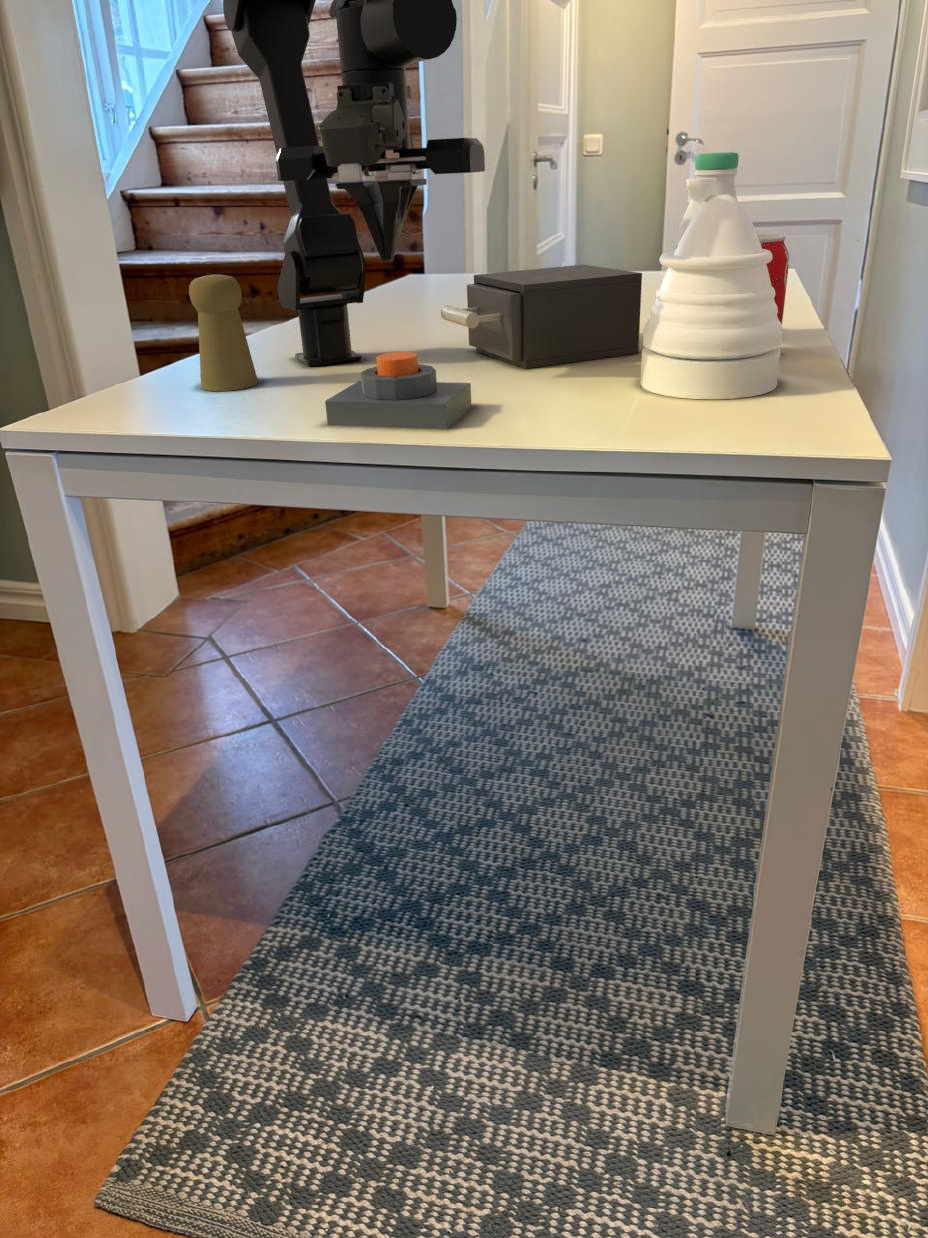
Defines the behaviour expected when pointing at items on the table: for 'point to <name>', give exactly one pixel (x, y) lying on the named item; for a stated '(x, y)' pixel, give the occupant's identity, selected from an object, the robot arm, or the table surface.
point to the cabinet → (573, 313)
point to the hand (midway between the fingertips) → (387, 260)
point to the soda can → (777, 268)
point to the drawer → (491, 320)
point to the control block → (399, 401)
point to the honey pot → (713, 308)
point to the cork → (221, 334)
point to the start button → (397, 364)
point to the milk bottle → (714, 168)
